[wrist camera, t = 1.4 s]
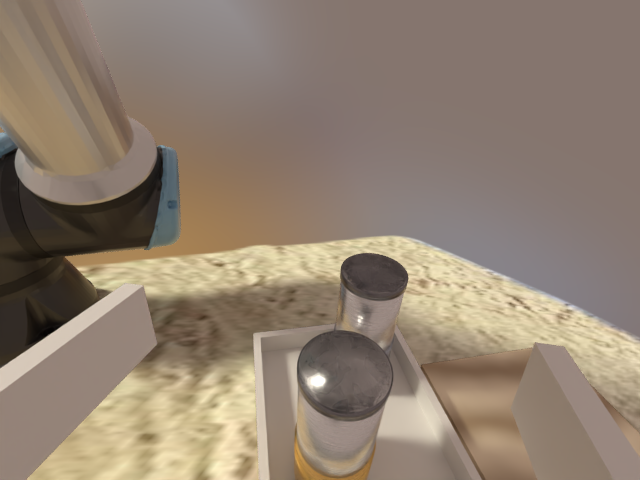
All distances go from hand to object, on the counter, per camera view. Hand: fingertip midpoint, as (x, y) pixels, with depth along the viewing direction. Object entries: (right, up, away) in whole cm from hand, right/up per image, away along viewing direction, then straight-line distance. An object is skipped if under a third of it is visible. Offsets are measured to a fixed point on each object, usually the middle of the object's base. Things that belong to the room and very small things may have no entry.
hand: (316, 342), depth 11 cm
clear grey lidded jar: (+4, -11, +26) cm, 29 cm away
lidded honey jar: (+1, -17, +17) cm, 24 cm away
